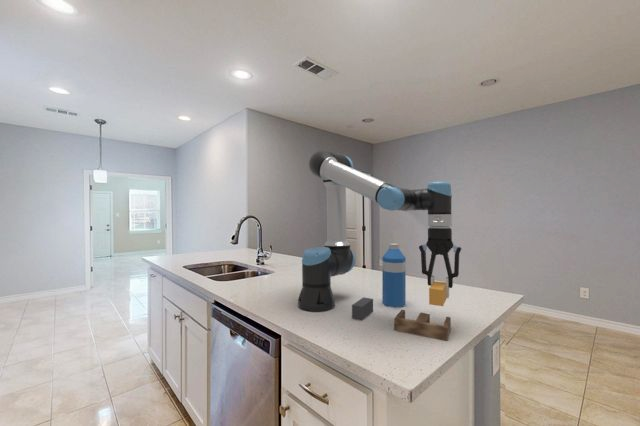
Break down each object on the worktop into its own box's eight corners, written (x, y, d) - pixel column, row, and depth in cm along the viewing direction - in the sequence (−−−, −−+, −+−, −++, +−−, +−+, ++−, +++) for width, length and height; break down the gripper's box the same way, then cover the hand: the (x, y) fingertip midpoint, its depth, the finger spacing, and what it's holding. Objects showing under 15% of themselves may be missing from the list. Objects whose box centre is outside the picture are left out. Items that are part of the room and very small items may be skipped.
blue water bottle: (406, 308, 114) (406, 245, 114) (382, 306, 116) (382, 245, 116) (404, 301, 123) (404, 243, 124) (382, 299, 125) (382, 242, 125)
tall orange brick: (429, 304, 90) (429, 288, 90) (434, 295, 100) (434, 281, 100) (443, 306, 88) (442, 289, 88) (447, 297, 98) (446, 282, 98)
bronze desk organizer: (394, 330, 93) (394, 318, 93) (401, 320, 101) (401, 309, 101) (447, 340, 85) (447, 328, 85) (450, 329, 94) (450, 317, 94)
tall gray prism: (351, 318, 103) (351, 305, 103) (363, 310, 113) (363, 297, 113) (362, 321, 101) (362, 306, 101) (373, 311, 111) (373, 298, 111)
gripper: (411, 227, 99) (411, 295, 98) (467, 228, 90) (467, 302, 90) (415, 226, 105) (416, 290, 105) (468, 227, 97) (468, 296, 96)
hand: (440, 296), depth 97 cm, fingers closed on tall orange brick, 4 cm apart
